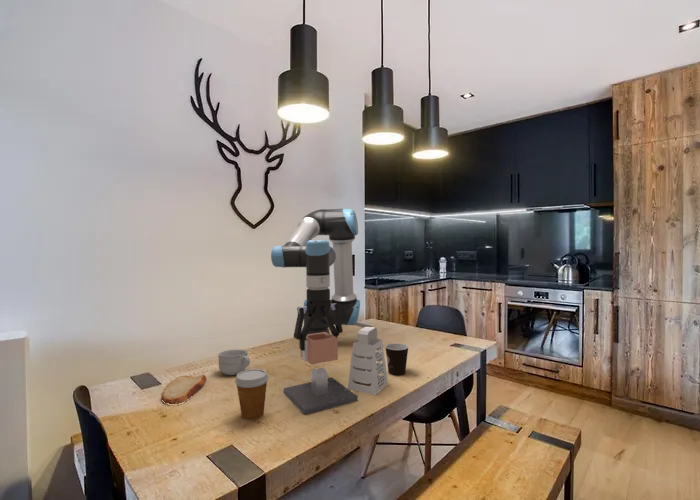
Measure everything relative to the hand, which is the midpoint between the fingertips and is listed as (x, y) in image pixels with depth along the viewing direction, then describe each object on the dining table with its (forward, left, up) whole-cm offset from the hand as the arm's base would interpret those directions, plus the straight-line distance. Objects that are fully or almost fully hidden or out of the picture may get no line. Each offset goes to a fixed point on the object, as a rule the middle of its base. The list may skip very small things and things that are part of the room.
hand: (319, 357), depth 118 cm
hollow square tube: (0, 0, 0) cm, 0 cm away
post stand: (0, 0, -13) cm, 13 cm away
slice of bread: (-28, -37, -13) cm, 48 cm away
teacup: (-35, -19, -13) cm, 42 cm away
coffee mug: (-5, +35, -13) cm, 38 cm away
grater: (+1, +18, -13) cm, 22 cm away
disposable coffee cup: (+1, -22, -13) cm, 26 cm away
